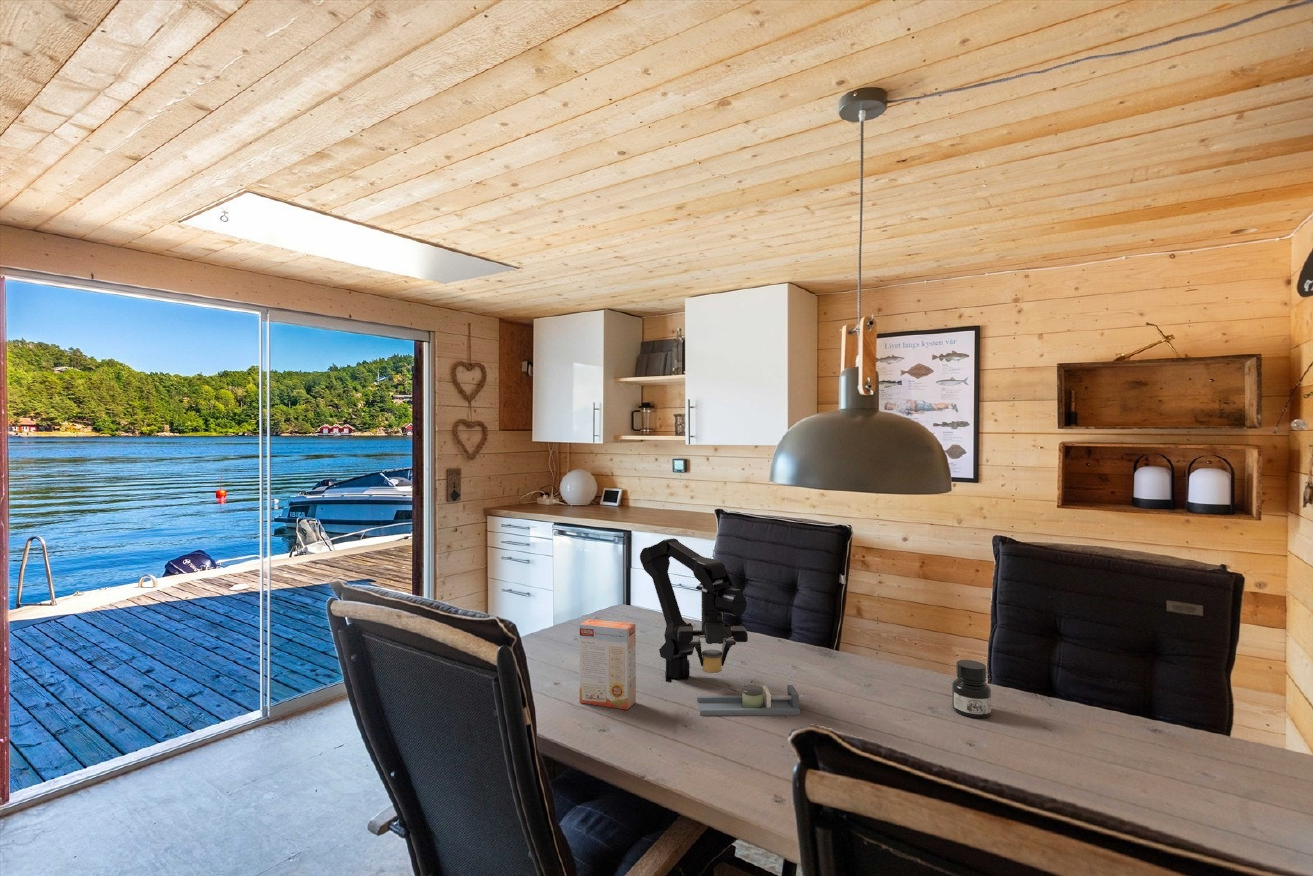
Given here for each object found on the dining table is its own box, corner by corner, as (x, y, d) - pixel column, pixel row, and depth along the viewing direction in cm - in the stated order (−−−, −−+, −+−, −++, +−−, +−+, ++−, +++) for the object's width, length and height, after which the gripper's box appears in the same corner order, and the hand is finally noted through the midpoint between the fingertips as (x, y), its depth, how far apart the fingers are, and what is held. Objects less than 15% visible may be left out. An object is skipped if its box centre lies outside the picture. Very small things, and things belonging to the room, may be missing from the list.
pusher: (766, 710, 156) (766, 695, 156) (762, 701, 162) (762, 685, 162) (814, 710, 156) (814, 694, 156) (808, 700, 162) (808, 685, 162)
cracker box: (636, 702, 163) (636, 622, 163) (627, 711, 158) (627, 629, 158) (589, 694, 168) (589, 617, 168) (578, 703, 163) (578, 623, 163)
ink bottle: (952, 715, 155) (952, 667, 155) (948, 702, 163) (948, 656, 164) (995, 721, 152) (995, 672, 152) (990, 707, 160) (989, 661, 160)
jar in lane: (743, 712, 156) (743, 693, 156) (740, 702, 161) (740, 685, 161) (765, 711, 156) (765, 693, 156) (761, 702, 161) (761, 685, 161)
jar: (703, 673, 166) (703, 656, 166) (701, 666, 171) (701, 649, 171) (723, 673, 166) (723, 656, 166) (720, 666, 172) (720, 649, 172)
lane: (700, 717, 154) (700, 697, 154) (697, 702, 163) (697, 683, 163) (799, 716, 154) (799, 696, 154) (791, 702, 163) (791, 683, 163)
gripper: (679, 616, 161) (679, 677, 161) (751, 616, 161) (751, 676, 161) (677, 605, 172) (677, 662, 172) (744, 605, 172) (744, 661, 172)
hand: (712, 665), depth 169 cm, fingers closed on jar, 5 cm apart
